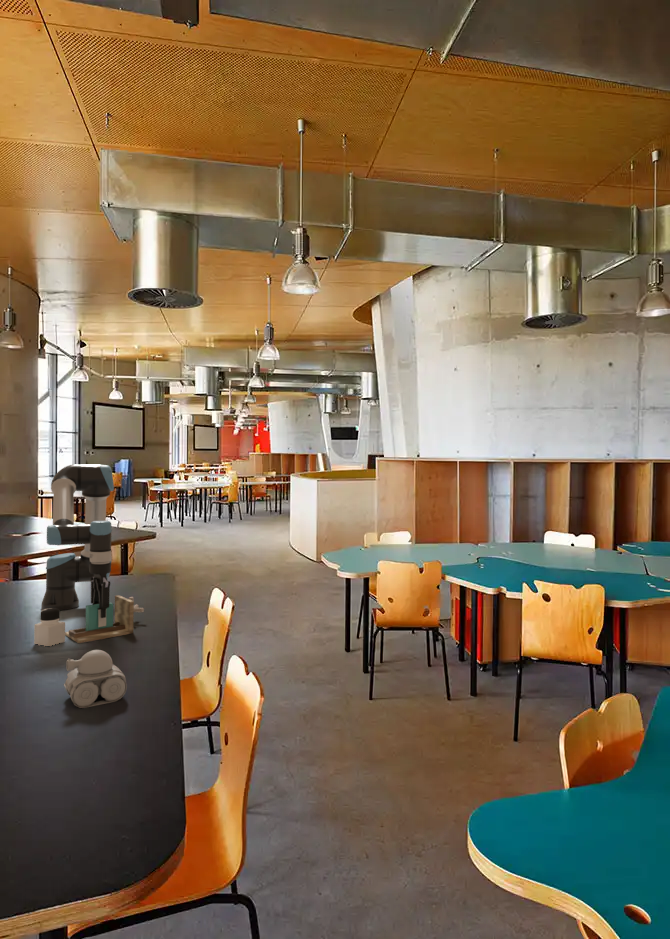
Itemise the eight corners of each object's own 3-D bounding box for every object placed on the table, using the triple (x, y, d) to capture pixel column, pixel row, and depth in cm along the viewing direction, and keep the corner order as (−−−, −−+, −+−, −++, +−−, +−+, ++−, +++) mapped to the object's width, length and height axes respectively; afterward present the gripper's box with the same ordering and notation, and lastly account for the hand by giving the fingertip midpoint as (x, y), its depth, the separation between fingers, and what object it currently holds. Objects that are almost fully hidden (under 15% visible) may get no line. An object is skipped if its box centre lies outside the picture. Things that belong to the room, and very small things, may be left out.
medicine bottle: (65, 642, 206) (65, 608, 206) (47, 647, 200) (48, 612, 200) (51, 639, 209) (51, 606, 209) (33, 644, 203) (34, 610, 203)
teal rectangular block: (85, 632, 215) (85, 605, 215) (109, 628, 221) (110, 602, 221) (88, 634, 213) (88, 607, 213) (112, 630, 219) (113, 603, 219)
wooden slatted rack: (65, 634, 215) (65, 602, 215) (118, 625, 229) (118, 595, 229) (78, 643, 205) (78, 609, 205) (133, 633, 218) (133, 601, 218)
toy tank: (67, 711, 147) (68, 660, 147) (60, 698, 156) (61, 650, 156) (128, 699, 156) (129, 651, 156) (118, 687, 164) (119, 641, 165)
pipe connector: (148, 619, 239) (148, 595, 239) (137, 625, 229) (137, 600, 229) (124, 618, 240) (125, 594, 240) (113, 624, 230) (113, 599, 230)
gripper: (81, 560, 221) (80, 621, 221) (99, 566, 208) (98, 631, 208) (101, 558, 226) (100, 618, 226) (119, 564, 213) (118, 627, 213)
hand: (99, 624), depth 217 cm, fingers open, 4 cm apart
